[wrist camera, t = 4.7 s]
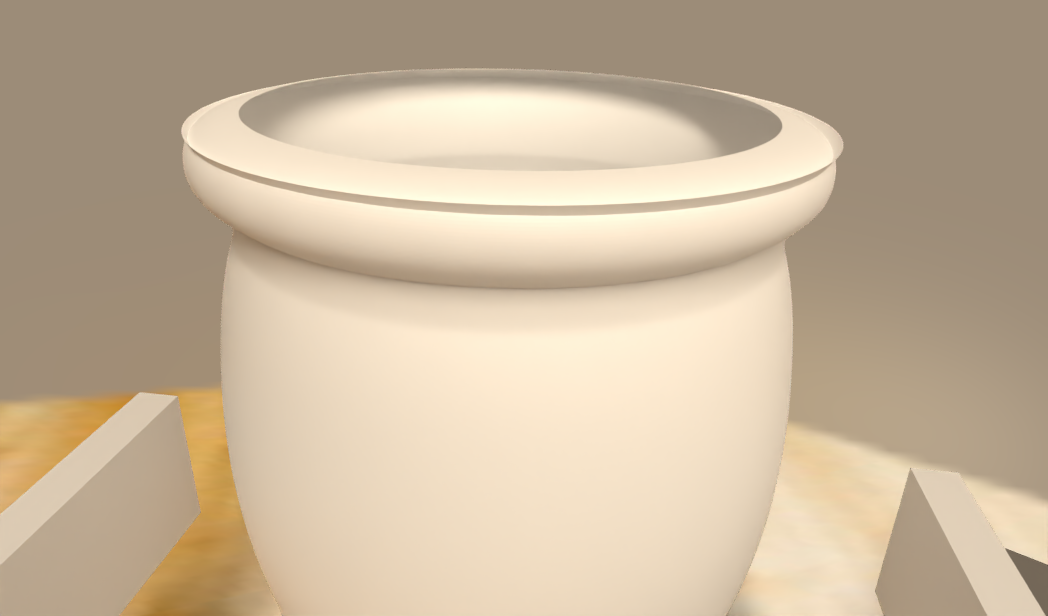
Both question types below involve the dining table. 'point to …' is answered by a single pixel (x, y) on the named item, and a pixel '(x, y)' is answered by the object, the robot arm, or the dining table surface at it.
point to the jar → (506, 335)
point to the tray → (1033, 577)
